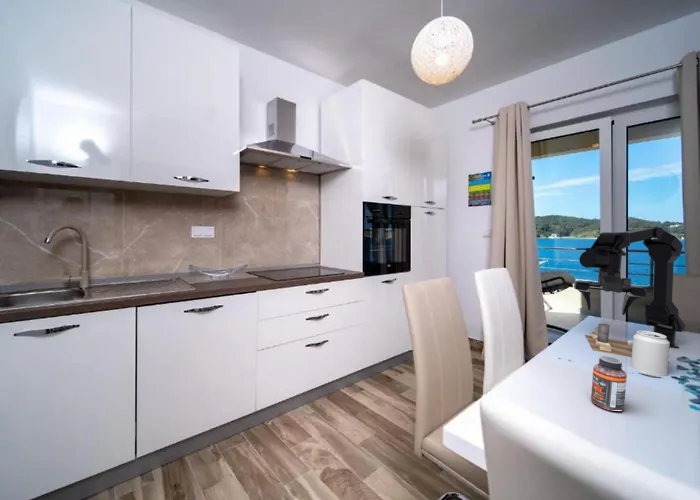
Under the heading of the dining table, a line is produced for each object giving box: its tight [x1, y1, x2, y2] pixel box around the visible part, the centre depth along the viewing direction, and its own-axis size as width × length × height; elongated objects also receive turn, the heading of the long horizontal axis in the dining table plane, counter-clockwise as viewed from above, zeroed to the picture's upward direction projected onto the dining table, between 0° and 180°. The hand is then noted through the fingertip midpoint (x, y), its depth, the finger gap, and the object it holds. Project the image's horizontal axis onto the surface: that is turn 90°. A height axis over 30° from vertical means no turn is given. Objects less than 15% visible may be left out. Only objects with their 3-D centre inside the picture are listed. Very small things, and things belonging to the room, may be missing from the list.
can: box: [630, 330, 670, 379], centre depth 88 cm, size 8×8×12 cm
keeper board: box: [584, 334, 672, 365], centre depth 105 cm, size 19×19×5 cm
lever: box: [590, 323, 612, 352], centre depth 109 cm, size 18×4×8 cm, turn 148°
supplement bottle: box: [590, 355, 628, 411], centre depth 70 cm, size 6×6×11 cm
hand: (605, 312), depth 105 cm, fingers open, 9 cm apart
